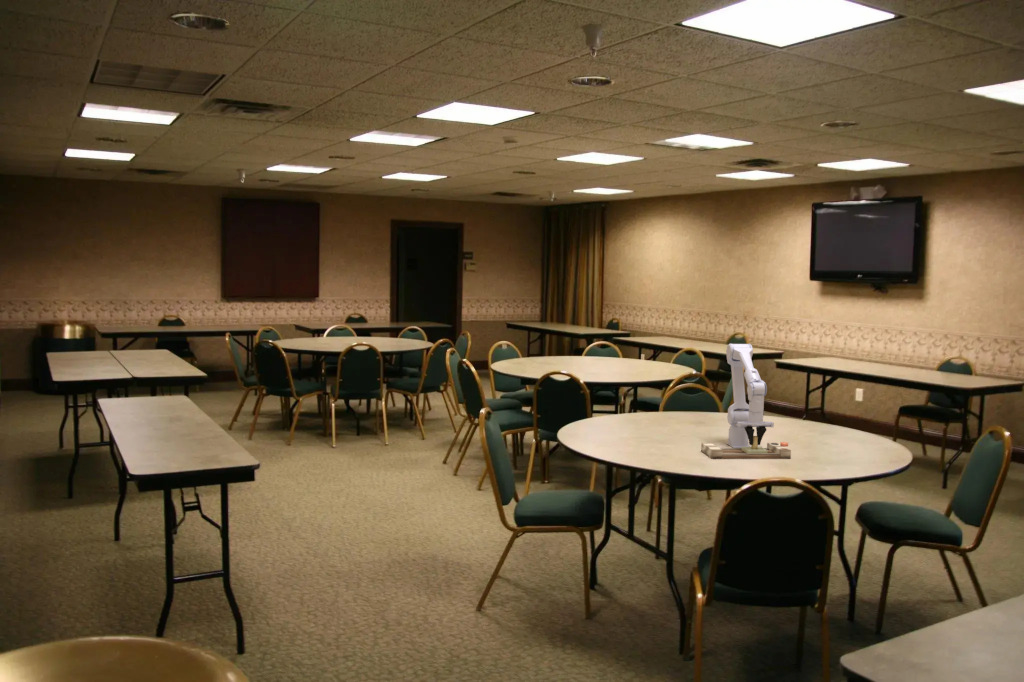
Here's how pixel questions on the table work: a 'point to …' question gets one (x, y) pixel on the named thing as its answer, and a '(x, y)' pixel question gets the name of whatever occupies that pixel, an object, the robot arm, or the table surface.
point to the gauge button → (784, 444)
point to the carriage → (754, 447)
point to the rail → (736, 453)
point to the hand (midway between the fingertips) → (754, 444)
